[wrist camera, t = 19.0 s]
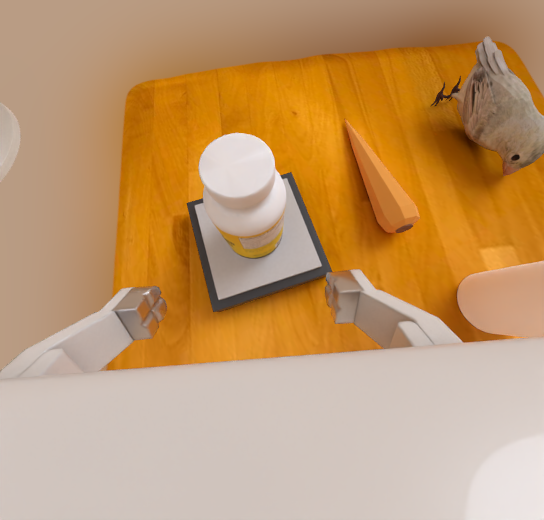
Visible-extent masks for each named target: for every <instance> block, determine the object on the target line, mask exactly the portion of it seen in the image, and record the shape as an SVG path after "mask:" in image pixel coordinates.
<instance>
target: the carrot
mask: <svg viewBox="0 0 544 520" xmlns="http://www.w3.org/2000/svg"><path fill="white" fill-rule="evenodd" d="M344 119H345V118H344ZM345 123H346V126H347V130H348V134H349V138H350V141H351V145H352V149H353V152H354V155H355V157H356V160H357V163H358V166H359V169H360V172H361V175H362V178H363V181H364V184H365V187H366V190H367V193H368V196H369V199H370V201H371V204H372V207H373V210H374V213H375V216H376V219H377V222H378V224H379V225H380V226H381V227H382V228H383V229H384V230H385V231H386V232H388V233H394V232H396V233H401V232H404V231H406V230H408V229H410V228H411V227H413V224H414V223H415V222H416V221H417V220H419V219H420V217H419V213H418V208H417V206H416V205H415V204H414V203H413V201H412V200H411V199H410V198H409V196H408V195H407V194H406V192H405V191H404V190H403V189H402V187H401V186H400V185H399V184H398V182H397V181H396V180H395V178H394V177H393V176H392V175H391V173H390V172H389V171H388V170H387V168H386V167H385V166H384V164H383V163H382V162H381V161H380V159H379V158H378V157H377V156H376V154H375V153H374V152H373V150H372V149H371V148H370V147H369V145H368V144H367V143H366V142H365V140H364V139H363V138H362V137H361V136H360V135H359V134H358V132H357V131H356V130H355V129H354V128H353V127H352V126H351V125H350V124H349V123H348V122H347V121H346V119H345Z"/></svg>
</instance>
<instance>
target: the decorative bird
mask: <svg viewBox="0 0 544 520" xmlns="http://www.w3.org/2000/svg"><path fill="white" fill-rule="evenodd" d="M475 52H476V58H477V62H478V63H477V64H476V65H475V66H474V67H473V69H472V71H471V72H470V74H469V76H468V77H467V79H466V81H465V83H464V84H463V86H462V88H461V89H458V85H459V83H460V80H461V76H460V79H459V81H458V83H457V85H456V86H455V87H454V88H453V89H452V92H451V94H450V95H448V96H445V95H443V90H444V88H445V82H444V86H443V88H442V90H441V91H440V92H439V93H438V95H437V97H436V100H435V102H434V103H433V104H435V103H436V102H437V103H436V105H437V104H438V102H439V100H440V99H441V101H442V100H443V98H447V99H448V98H450V97H451V99H452V98H455V99H456V100H457V101H458V105H457V109H458V112H459V114H460V116H461V120H462V123H463V125H464V128H465V132H466V134H467V136H468V138H469V139H470V140H471V141H473V142H475V143H477V144H479V145H480V146H482V147H484V148H486V149H489V150H492V151H497V152H498V153H499V155H500V156H501V158H502V160H503V176H506V175H509V174H511V173H513V172H515V171H517V170H519V169H521V168H523V167H525V166H528V165H530V164H531V163H533V162H534V161H536V160H537V159H538V158H539V157H540V156H541V155H542V154H543V153H544V116H543V115H541V114H540V113H539V112H538V111H537V109H536V107H535V106H534V103H533V101H532V98H531V95H530V92H529V91H528V89H527V87H526V86H525V85H524V83H523V82H522V81H521V80H520V79H519V78H518V77H516V76H515V74H514V73H513V72H512V71H511V70H510V69H509V68H507V65H506V63H505V61H504V58H503V56H502V52H501V51H500V50H498V49H497V47H496V44H495V43H493V42H492V40H491V39H490V37H486V38H484V40H483V42H482V43H480V44H479V45H478V46H477V49H476V51H475ZM458 91H459V92H458ZM447 99H446V100H447ZM451 99H450V100H451ZM450 100H449V101H450ZM433 104H432V105H433ZM432 105H431V106H432ZM436 105H435V106H436ZM435 106H434V107H435Z"/></svg>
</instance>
